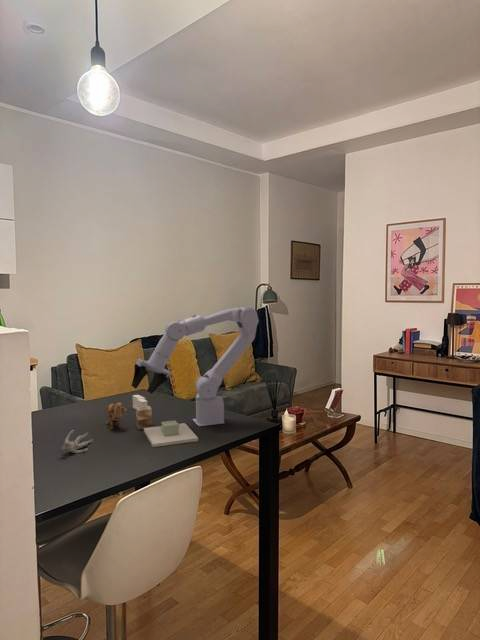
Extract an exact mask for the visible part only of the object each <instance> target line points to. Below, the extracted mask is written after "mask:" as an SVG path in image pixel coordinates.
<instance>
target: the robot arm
mask: <svg viewBox="0 0 480 640" xmlns="http://www.w3.org/2000/svg"><path fill="white" fill-rule="evenodd" d="M227 321H232V322H235V323H236V324H237V327H238V334H239V335H237V337H236V339H234V341H233V342H232V344H230V346H229V347H228V348H227V350H225V352H224V353H223V354H222V356H220V358H219V359H218V360H217V362H216V363H214V365H213V366H212V367H211V369H208V370H207V371H206V373H204V374H203V375H202V376H200V377H198V378H197V379H196V381H195V383H194V386H195V389H196V391H197V393H196V396H195V418H192V421H193V422H194V423H195V424H196V425H197V426H198V427H206V426H213V425H222V424H225V404H224V403H225V402H224V398H223V397H222V396H221V395H220V396H218V395H217V393H218V389H219V388H220V386H221V385H222V381H223V379H224V377H225V376H226V375H227V373H228V372H229V371H230V370H231V369H232V368H233V366H234V365H235V364H236V363H237V361H238V360H239V359H240V358H241V356H242V355H243V354H244V352H245V351H246V350H247V349H248V347H250V345H251V344H252V343H253V341H254V340H255V338H256V333H257V328H258V324H259V322H260V320H259V317H258V312H257V311H256V309H255V308H253V307H247V306H238V307H232V308H227V309H224V310H221V311H218V312H215V313H213V314H210V315H207V316H201V314H198V315H196V314H192V315H191V317H188V318H183V319H182V318H179V319H178V321H171V322H169V323H168V325H166V326H165V332H164V334H163V335H162V337H161V338H160V339H159V341H158V343H157V345H156V347H154V350H153V352H152V353H151V355H150V357H149V359H148V360H144V359H141V358H138V359H137V361H136V362H135V364H134V374H133V378H132V382H131V387H132V388H134V389H137V388H138V387H139V385H140V383H141V382H142V381H143V379H144V378H145V377H146V376H147V375H148V374H149V371H147V370H150V371H153V372H154V373H153V377H152V379H151V382H150V384H149V385H148V388H147V392H149V394H154V392H155V391H156V390H157V389H158V388H159V387H160V386H161V385H163V384H164V383H165V382H167V381H168V379H169V377H170V375H171V373H172V371H170V370H168V369H166V368H165V366H166V365H167V363H168V362H169V360H170V358H171V356H172V355H173V352H174V351H175V349H176V346H177V344H178V342H179V341H180V340H182V339H183V338H184V337H185V336H186V337H188V336H191V335H194V334H197V333H201V332H204V331H205V329H206V328H207V327H209V326H212V325H215V324H219V323H224V322H227Z"/></svg>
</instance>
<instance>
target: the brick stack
mask: <svg viewBox="0 0 480 640" xmlns="http://www.w3.org/2000/svg"><path fill="white" fill-rule="evenodd" d="M135 419H136V420H135V421H136V422H135V423H136V425H135V426H136V427H137V429H138V430H144V428H150V427H153V408H152V407H151V406H150V405H148V406H143V407H136V409H135Z"/></svg>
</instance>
